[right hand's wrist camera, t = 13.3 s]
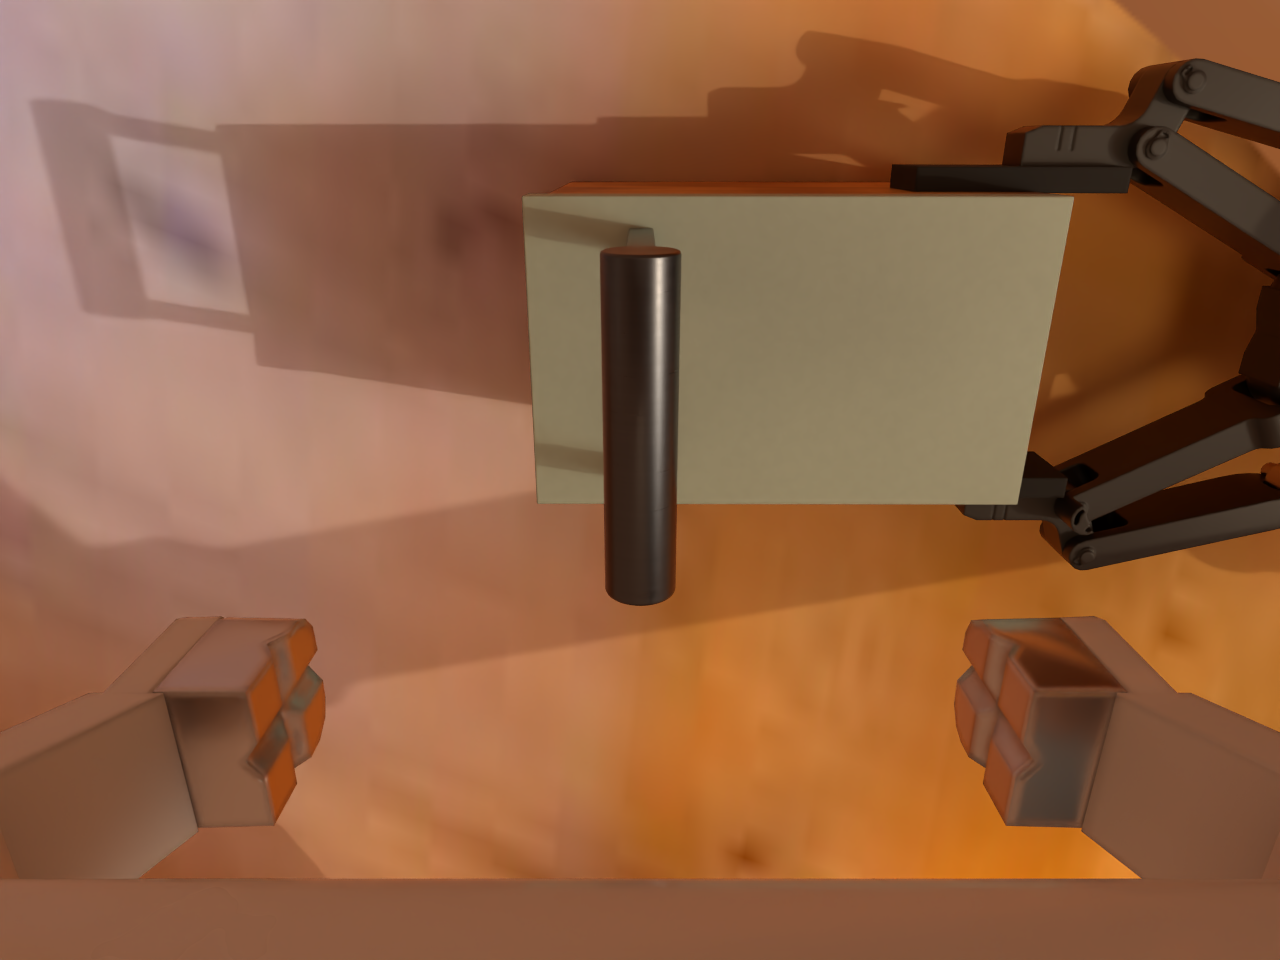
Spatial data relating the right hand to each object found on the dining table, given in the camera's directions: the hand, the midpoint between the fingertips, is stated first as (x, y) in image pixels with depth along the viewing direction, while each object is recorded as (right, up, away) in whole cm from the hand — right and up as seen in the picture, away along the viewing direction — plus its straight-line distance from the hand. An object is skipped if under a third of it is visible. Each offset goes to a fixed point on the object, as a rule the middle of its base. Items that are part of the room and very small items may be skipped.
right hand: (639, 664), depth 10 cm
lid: (+4, +6, +16) cm, 18 cm away
